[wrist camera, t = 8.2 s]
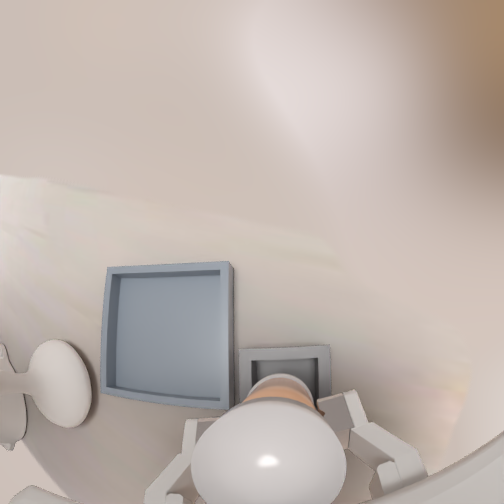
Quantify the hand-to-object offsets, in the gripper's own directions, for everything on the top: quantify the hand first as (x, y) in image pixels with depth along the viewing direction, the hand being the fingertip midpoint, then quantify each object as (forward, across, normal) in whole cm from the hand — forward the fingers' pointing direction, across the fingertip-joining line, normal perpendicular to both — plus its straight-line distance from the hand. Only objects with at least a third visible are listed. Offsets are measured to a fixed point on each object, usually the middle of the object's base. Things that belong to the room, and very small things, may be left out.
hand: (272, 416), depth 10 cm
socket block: (+11, 0, +13) cm, 17 cm away
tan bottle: (+4, 0, +5) cm, 7 cm away
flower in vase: (+13, +27, +12) cm, 32 cm away
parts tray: (+16, +11, +8) cm, 21 cm away
